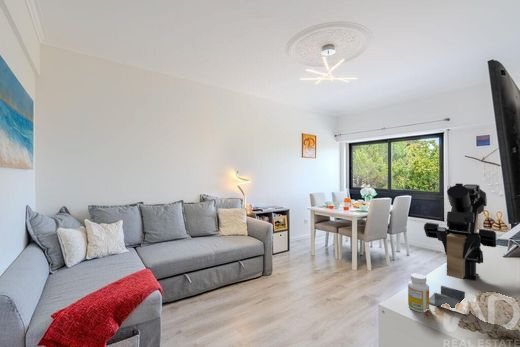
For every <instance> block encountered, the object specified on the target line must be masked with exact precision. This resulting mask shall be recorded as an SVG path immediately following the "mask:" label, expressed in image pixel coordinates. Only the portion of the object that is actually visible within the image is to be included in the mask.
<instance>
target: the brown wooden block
mask: <svg viewBox="0 0 520 347" xmlns="http://www.w3.org/2000/svg"><path fill="white" fill-rule="evenodd" d="M464 248H465V235H458V234H452V233H450V234H448V235H447V255H446V276H448V277H452V278H456V279H460V280H463V279H464V276H465V259H463V252H464Z"/></svg>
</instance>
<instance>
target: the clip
mask: <svg viewBox="0 0 520 347" xmlns="http://www.w3.org/2000/svg"><path fill="white" fill-rule="evenodd" d="M464 298H465V299H466V291H463V290H460V289H455V288H452V287H449V286H446V285H441V286H440V292H439V293H438V292H433V294H432V295H430V296H429V305H432V306H435V307H438V306H441V305H442V304H445V303H447V304H449V305H450V307H451V308H455V305H456V304H457V303H460V302H461V301H462V300H463V299H464Z"/></svg>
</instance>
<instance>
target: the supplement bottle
mask: <svg viewBox="0 0 520 347" xmlns="http://www.w3.org/2000/svg"><path fill="white" fill-rule="evenodd" d="M407 297H408V298H407V304H408V305H407V306H408V308H410V309H412V311H415V312H418V313H425V312H424V310H426V309H429V310H430V304H429V298H430V286H429V284H428V283H427V276H425V275H424V274H422V273H415V272H413V273H410V280H409V281H408V283H407Z"/></svg>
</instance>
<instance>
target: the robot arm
mask: <svg viewBox="0 0 520 347" xmlns="http://www.w3.org/2000/svg"><path fill="white" fill-rule="evenodd" d="M446 193H447V197H448V198H447V199H448V203H449V205H450V207H451V209H450V211H447V213H446V227H447V228H446V227H444V226H439V223H434V222H426V223H424V225H423V230H424V234H425V236H426V237H428V238H430V239H437V241H439V242H441V243H442V245H443V250H444V252H445V255H446V256H447V235H448V234H450V233H452V234H458V235H465V248H464V252H463V259H465V276H464V278H465V279H469V280H473V281H476V280H477V279H478V278H479V276H480V274H479V273H477V264H479V265H480V264H484V254H483V253H484V252H483V250H482V248H481V246H483V247H490V248H496V247H497V242H498V241H497V232H496V231H495V230H493V229H485V228H479V229H478V232H476V231H477V226H478V221H479V215H480V214H482V213H483V212H484V211H485V207H487V205H488V204H487V203H488V199H487V193H486V192H485V191H484V190H482V189H481V187H480V184H473V183H472V184H469V183H467V184H463V183H457V182H456V183H455V184H454V185H453V186H450V187H449V188H448V189H447V191H446ZM464 278H463V279H464Z"/></svg>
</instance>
